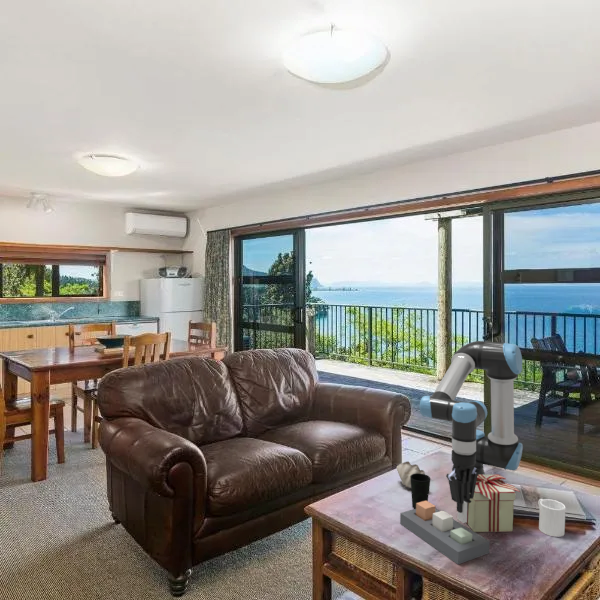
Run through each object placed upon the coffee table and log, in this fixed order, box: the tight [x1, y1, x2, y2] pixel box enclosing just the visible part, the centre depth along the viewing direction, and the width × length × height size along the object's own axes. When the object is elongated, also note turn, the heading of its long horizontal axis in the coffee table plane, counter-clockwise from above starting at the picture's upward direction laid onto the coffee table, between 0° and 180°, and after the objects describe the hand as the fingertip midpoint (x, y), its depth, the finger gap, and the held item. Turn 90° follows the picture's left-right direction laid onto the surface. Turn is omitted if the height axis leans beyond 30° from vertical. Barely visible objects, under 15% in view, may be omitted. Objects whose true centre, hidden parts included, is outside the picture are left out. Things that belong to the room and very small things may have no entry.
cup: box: [410, 473, 431, 509], centre depth 189 cm, size 8×8×12 cm
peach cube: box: [416, 500, 437, 521], centre depth 175 cm, size 5×5×5 cm
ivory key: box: [432, 510, 454, 532], centre depth 167 cm, size 5×5×5 cm
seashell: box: [396, 461, 426, 489], centre depth 207 cm, size 10×15×10 cm
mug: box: [537, 498, 566, 538], centre depth 174 cm, size 8×12×10 cm
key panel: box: [399, 508, 491, 565], centre depth 167 cm, size 14×28×4 cm, turn 28°
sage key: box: [450, 528, 472, 545], centre depth 160 cm, size 5×5×5 cm
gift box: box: [465, 473, 521, 533], centre depth 177 cm, size 17×18×17 cm
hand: (462, 520), depth 160 cm, fingers closed
